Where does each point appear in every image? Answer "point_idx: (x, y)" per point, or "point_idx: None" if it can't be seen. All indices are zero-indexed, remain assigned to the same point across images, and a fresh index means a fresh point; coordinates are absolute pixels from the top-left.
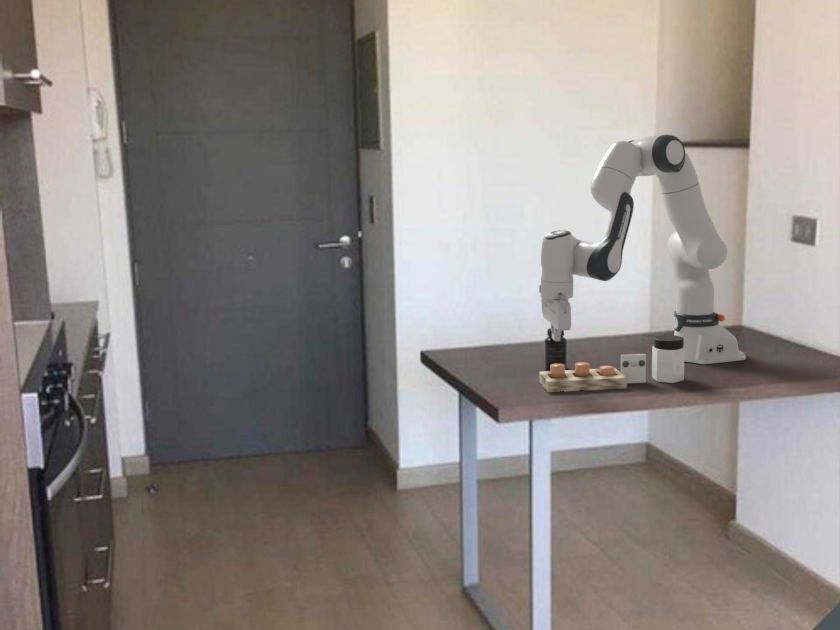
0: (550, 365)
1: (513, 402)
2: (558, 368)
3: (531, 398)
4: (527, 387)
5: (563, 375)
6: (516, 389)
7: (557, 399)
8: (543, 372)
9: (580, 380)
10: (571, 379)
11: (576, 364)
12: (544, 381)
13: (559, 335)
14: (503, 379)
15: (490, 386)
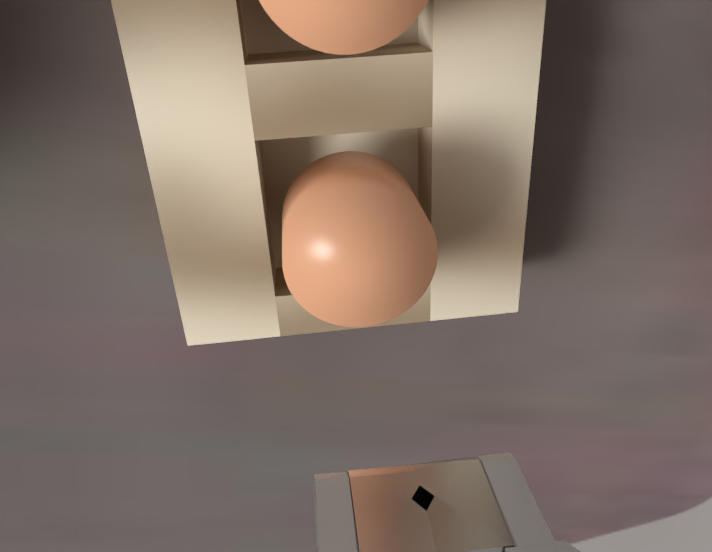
0: (356, 326)
1: (635, 456)
2: (433, 254)
3: (593, 372)
4: (340, 378)
5: (400, 175)
6: (378, 436)
7: (672, 228)
8: (219, 316)
9: (543, 21)
10: (501, 110)
11: (354, 39)
12: None
13: (549, 545)
14: (128, 494)
15: (293, 548)
